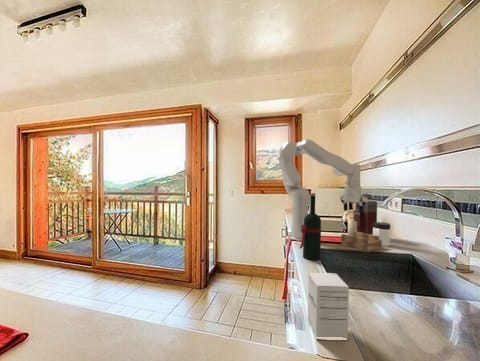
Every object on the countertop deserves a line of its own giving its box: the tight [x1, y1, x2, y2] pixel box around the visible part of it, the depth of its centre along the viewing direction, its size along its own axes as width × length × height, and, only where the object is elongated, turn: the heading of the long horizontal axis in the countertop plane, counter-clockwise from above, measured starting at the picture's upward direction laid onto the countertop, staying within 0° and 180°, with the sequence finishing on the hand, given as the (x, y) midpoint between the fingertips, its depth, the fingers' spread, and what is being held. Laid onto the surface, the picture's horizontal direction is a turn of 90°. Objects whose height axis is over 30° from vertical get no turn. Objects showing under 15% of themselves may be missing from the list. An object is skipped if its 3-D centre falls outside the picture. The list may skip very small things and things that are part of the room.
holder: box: [340, 231, 383, 253], centre depth 127 cm, size 15×14×6 cm
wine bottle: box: [299, 192, 322, 262], centre depth 106 cm, size 8×10×30 cm
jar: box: [373, 221, 392, 248], centre depth 131 cm, size 9×8×12 cm
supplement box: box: [307, 272, 350, 339], centre depth 55 cm, size 7×7×13 cm
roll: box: [347, 219, 357, 236], centre depth 143 cm, size 5×5×11 cm
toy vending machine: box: [353, 192, 378, 235], centre depth 148 cm, size 9×11×28 cm
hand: (353, 211), depth 143 cm, fingers open, 9 cm apart
